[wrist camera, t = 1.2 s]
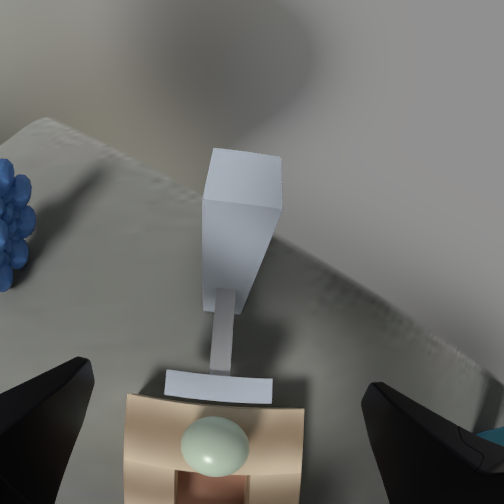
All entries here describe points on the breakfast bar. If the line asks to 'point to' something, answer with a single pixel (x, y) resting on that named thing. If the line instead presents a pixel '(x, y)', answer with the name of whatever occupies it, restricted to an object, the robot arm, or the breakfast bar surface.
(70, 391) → the robot arm
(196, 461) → the ball
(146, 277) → the breakfast bar surface
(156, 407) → the board
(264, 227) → the pull handle
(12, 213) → the grapes
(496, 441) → the cup
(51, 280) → the breakfast bar surface
